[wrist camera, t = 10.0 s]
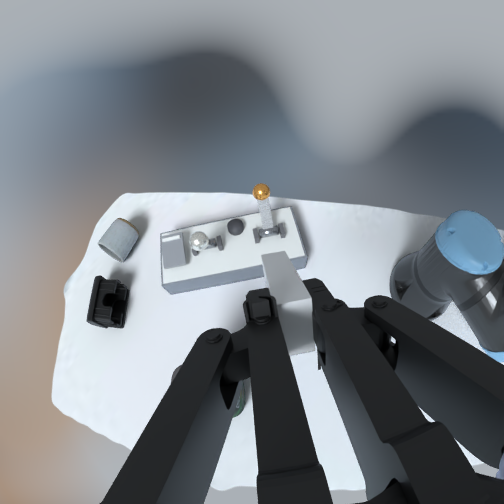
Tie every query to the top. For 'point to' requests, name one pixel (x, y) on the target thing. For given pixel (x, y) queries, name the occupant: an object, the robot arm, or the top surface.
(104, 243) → the ceramic mug
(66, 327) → the top surface
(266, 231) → the lever orange
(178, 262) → the rocker grey
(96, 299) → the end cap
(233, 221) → the console
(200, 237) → the silver ball lever
